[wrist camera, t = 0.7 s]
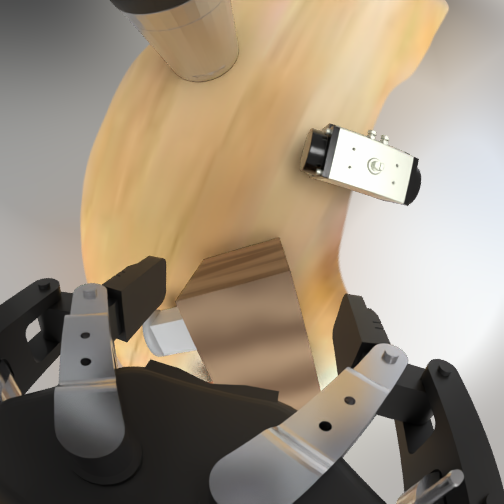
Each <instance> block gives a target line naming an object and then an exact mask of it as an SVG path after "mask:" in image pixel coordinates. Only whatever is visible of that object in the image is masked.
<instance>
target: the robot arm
mask: <svg viewBox="0 0 504 504" xmlns="http://www.w3.org/2000/svg"><path fill="white" fill-rule="evenodd" d="M110 1H111V2H112V3H113V4H114V5H115V6H116V7H117V8H118V9H119V10H120V11H121V12H122V13H123V14H124V16H125V17H126V18H127V19H128V20H129V21H130V22H131V23H132V24H133V25H134V26H135V27H136V28H137V29H138V31H139V32H140V33H141V34H142V35H143V36H144V37H145V38H146V39H147V41H148V42H149V43H150V44H151V45H152V46H153V48H154V49H155V50H156V51H157V52H158V53H159V54H160V56H161V57H162V58H163V59H164V60H165V62H166V63H167V64H168V65H169V66H170V67H171V69H172V70H173V71H174V72H175V73H176V74H177V75H178V76H180V77H181V78H183V79H186V80H189V81H195V82H200V81H208V80H212V79H214V78H217V77H219V76H221V75H222V74H224V73H226V72H227V71H228V70H229V69H230V68H231V67H232V66H233V64H234V63H235V61H236V59H237V57H238V52H239V47H238V40H237V33H236V28H235V22H234V16H233V11H232V5H231V0H110ZM165 294H166V261H165V259H163V258H158V257H153V256H148V257H146V258H145V259H143V260H142V261H141V262H139V263H137V264H134V265H131V266H128V267H126V268H125V269H124V270H122V272H119V273H118V274H116V276H114V277H112V278H111V279H109V280H108V281H107V282H105V283H104V284H102V285H100V284H95V283H90V284H84V285H81V286H79V287H77V288H76V289H75V290H74V292H73V293H67V292H61V290H60V285H59V282H58V281H57V280H55V279H52V278H46V279H40V280H37V281H35V282H34V283H32V284H31V285H29V286H28V287H26V288H25V289H23V290H22V291H20V292H19V293H17V294H16V295H14V296H13V297H12V298H10V299H8V300H7V301H5V302H4V303H3V304H1V305H0V504H386V503H385V501H383V500H382V499H381V498H380V497H379V496H378V495H377V494H376V493H375V492H374V491H373V490H372V489H371V488H370V486H369V485H367V483H366V482H365V481H364V480H363V479H362V478H361V477H360V476H359V475H358V474H357V473H356V472H355V471H354V470H353V469H352V468H351V467H350V466H349V464H348V463H347V462H346V461H345V460H344V459H343V457H344V455H345V454H346V453H347V452H348V451H349V449H350V448H351V447H352V446H353V444H354V443H355V442H356V441H357V440H358V438H359V437H360V436H361V435H362V433H363V432H364V431H365V429H366V428H367V427H368V425H369V424H370V423H371V421H372V420H373V419H374V417H375V416H376V414H377V415H380V416H384V417H387V418H391V419H394V420H395V426H396V431H397V437H398V444H399V449H400V457H401V465H402V472H403V481H404V493H403V494H402V495H401V496H400V497H399V498H398V500H397V503H396V504H504V489H503V485H502V482H501V478H500V475H499V471H498V468H497V465H496V462H495V458H494V455H493V452H492V449H491V447H490V444H489V442H488V438H487V436H486V433H485V431H484V428H483V426H482V423H481V421H480V419H479V416H478V414H477V411H476V409H475V407H474V404H473V402H472V400H471V398H470V396H469V394H468V391H467V389H466V387H465V385H464V383H463V381H462V379H461V377H460V375H459V373H458V371H457V370H456V368H455V367H454V366H453V365H451V364H450V363H448V362H447V361H444V360H441V359H433V360H431V361H430V362H429V364H428V365H427V367H426V369H424V368H420V367H417V366H414V365H410V364H408V357H407V355H406V354H405V352H403V351H402V350H401V349H400V348H398V347H396V346H394V345H391V344H390V342H389V339H388V337H387V335H386V333H385V330H383V329H384V328H383V326H382V324H381V321H380V319H379V317H378V315H377V314H376V313H375V312H374V311H373V310H372V309H369V308H367V307H366V305H365V302H364V300H363V298H362V296H356V295H350V294H345V295H344V297H343V299H342V302H341V305H340V309H339V312H338V315H337V318H336V321H335V324H334V328H333V344H334V351H335V357H336V365H337V372H338V376H337V377H336V378H335V379H334V380H333V381H332V382H331V383H330V384H329V385H328V386H326V387H325V388H324V389H323V390H322V391H321V392H320V393H318V394H317V395H316V396H315V397H314V398H313V399H312V400H310V401H309V402H308V403H307V404H306V405H304V406H303V407H302V408H301V409H299V410H296V409H294V408H293V407H291V406H289V405H287V404H285V403H283V402H280V401H278V396H279V391H275V390H269V389H264V388H258V387H253V386H248V385H229V384H212V383H208V382H205V381H203V380H201V379H199V378H197V377H195V376H193V375H191V374H189V373H187V372H185V371H183V370H181V369H179V368H176V367H173V366H169V365H166V364H163V363H160V362H157V361H154V360H150V361H149V362H148V364H147V365H146V367H122V368H118V363H117V357H116V351H115V344H114V340H115V339H116V338H117V339H119V340H122V341H125V342H128V341H129V339H130V338H131V337H132V336H133V335H134V334H135V333H136V332H137V330H138V329H139V328H140V327H141V326H142V325H143V324H144V322H145V321H146V320H147V319H148V318H149V317H150V316H151V315H152V313H153V312H154V311H155V310H156V309H157V308H158V307H159V306H160V305H161V303H162V302H163V300H164V298H165ZM36 318H38V321H39V325H40V328H41V331H40V332H39V333H38V334H37V335H35V336H34V337H33V338H32V339H31V340H30V341H29V342H27V339H26V329H27V327H28V325H29V324H30V323H32V322H33V321H34V320H35V319H36ZM59 355H60V368H59V384H58V385H57V386H56V387H52V388H48V389H45V390H41V391H37V392H33V393H29V394H25V393H26V392H27V391H28V389H29V388H30V387H31V386H32V385H33V384H34V383H35V381H37V379H38V378H39V377H40V376H41V375H42V374H43V373H44V372H45V370H46V369H47V368H48V367H49V366H50V365H51V364H52V363H53V362H54V361H55V360H56V359H57V358H58V356H59ZM24 394H25V395H24ZM433 415H434V418H435V429H433V426H432V423H431V419H430V418H431V417H432V416H433Z"/></svg>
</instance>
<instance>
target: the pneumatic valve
mask: <svg viewBox="0 0 504 504" xmlns="http://www.w3.org/2000/svg"><path fill="white" fill-rule="evenodd" d="M368 134H369V135H367V136H364V135H362V134H359V133H356V132H353V131H351V130H348V129H345V128H342V127H339V126H336V125H333V124H330V123H329V124H328V125H327V126H326V127H324V128H323V129H322V131H320V130H316V129H313V128H312V129H310V131H309V133H308V135H307V138H306V141H305V144H304V148H303V152H302V157H301V162H300V171H301V172H305V173H308V175H310V176H309V177H310V178H313V179H317V180H320V181H324V182H327V183H330V184H334V185H337V186H340V187H344V188H347V189H350V190H353V191H356V192H359V193H363V194H365V195H368V196H372V197H374V198H377V199H380V200H383V201H388V202H393V203H398V204H402V205H407V206H408V205H409V204H410V203H412V202H413V200H415V198H416V196H417V195H418V192H419V189H420V185H421V174H420V171H419V169H418V168H417V165H418V160H419V159H417V158H415V157H413V156H411V155H410V154H408V153H406V152H404V151H401V150H399V149H397V148H395V147H392V146H390V145H388V142H387V141H389V137H388V136H385V135H382V136H381V139H382V140H380V141H377V140H375V139H376V138H375V136H376V132H375V131H373V130H369V131H368Z"/></svg>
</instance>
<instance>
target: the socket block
mask: <svg viewBox="0 0 504 504" xmlns="http://www.w3.org/2000/svg"><path fill="white" fill-rule="evenodd" d="M175 302H176V304H177V307H178V309H179V311H180V314H181V316H182V318H183V321H184V323H185V325H186V327H187V330H188V332H189V334H190V336H191V338H192V340H193V343H194V345H195V347H196V349H197V351H198V353H199V355H200V357H201V359H202V361H203V363H204V365H205V367H206V369H207V371H208V373H209V375H210V377H211V379H212V381H213V383H214V384H229V385H248V386H253V387H258V388H264V389H269V390H275V391H279V396H278V401H280V402H283V403H285V404H287V405H289V406H291V407H293V408H294V409H296V410H299V409H301V408H302V407H303V406H304V405H306V404H307V403H308V402H309V401H310V400H312V399H313V398H314V397H315V396H316V395H317V394H318V393H320V392H321V390H320V386H319V382H318V377H317V373H316V369H315V365H314V361H313V357H312V353H311V348H310V344H309V340H308V336H307V332H306V329H305V325H304V321H303V317H302V313H301V309H300V305H299V302H298V298H297V294H296V290H295V287H294V283H293V279H292V276H291V272H290V269H289V266H288V263H287V260H286V256H285V253H284V250H283V247H282V244H281V242H280V239H279V238H276V239H272V240H269V241H265V242H262V243H258V244H255V245H252V246H248V247H245V248H241V249H238V250H234V251H231V252H228V253H224V254H221V255H217V256H214V257H210V258H207V259H204V260H203V261H202V263H201V264H200V266H199V267H198V269H197V270H196V271H195V273H194V274H193V276H192V277H191V279H190V280H189V282H188V283H187V285H186V286H185V288H184V289H183V291H182V292H181V294H180V295H179V297H178V298H177V300H176V301H175Z"/></svg>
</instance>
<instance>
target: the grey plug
mask: <svg viewBox="0 0 504 504" xmlns="http://www.w3.org/2000/svg"><path fill="white" fill-rule="evenodd" d="M143 334H144V338H145V341H146V344H147V346H148V348H149V349H150V351H151V352H152V353H153V354H154V355H155V356H158V357H161V356H168V355H171V354H177V353H182V352H188V351H193V350H197V349H196V347H195V345H194V343H193V340H192V338H191V336H190V334H189V332H188V330H187V327H186V325H185V323H184V321H183V318H182V316H181V314H180V311H179V309H178V307H174V308H170V309H166V310H161V311H160V310H155V311H154V312H153V313H152V315H151V316H150V317H149V318H148V319H147V320H146V321H145V322H144V324H143Z"/></svg>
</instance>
